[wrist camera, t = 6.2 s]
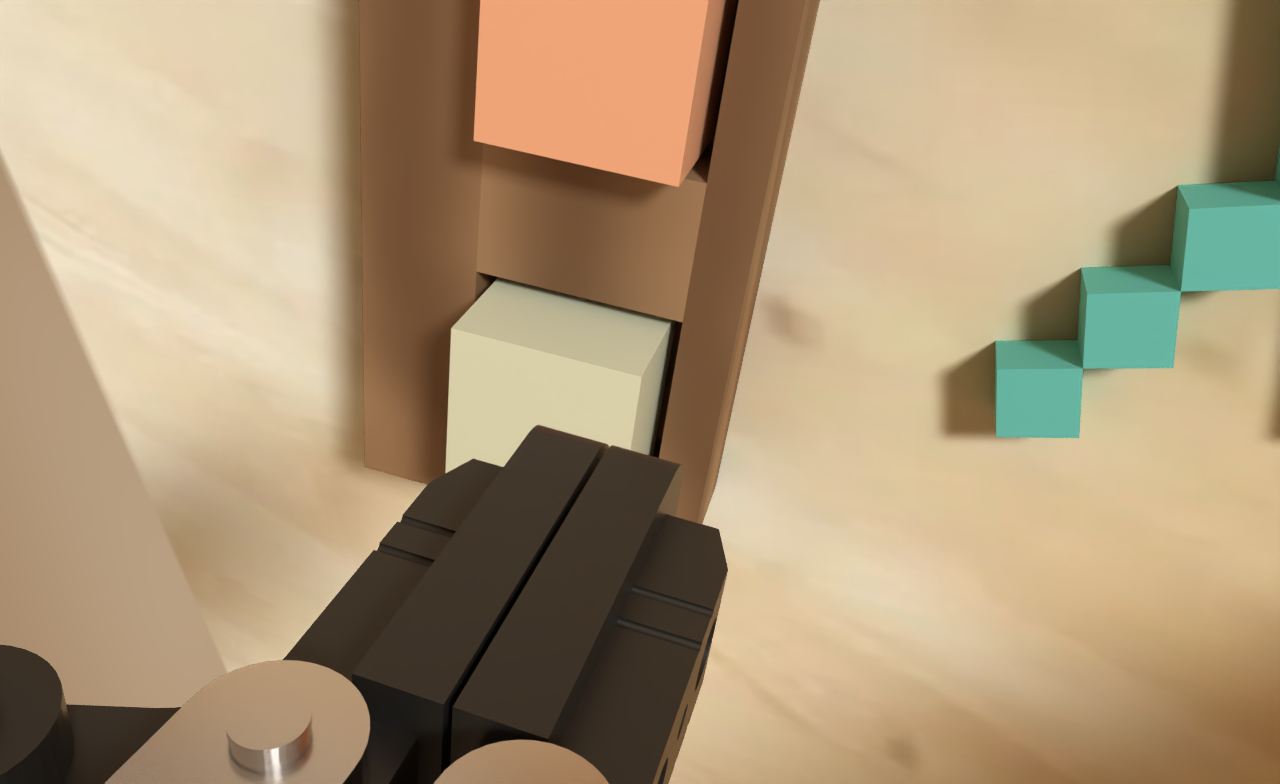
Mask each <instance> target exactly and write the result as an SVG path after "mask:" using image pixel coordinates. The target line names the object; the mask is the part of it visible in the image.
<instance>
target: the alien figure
mask: <svg viewBox="0 0 1280 784" xmlns="http://www.w3.org/2000/svg"><path fill="white" fill-rule="evenodd" d="M1257 289H1280V145H1279V153H1278V160H1277V167H1276V174H1275V180H1267V181H1249V182H1231V183H1213V184H1194V185H1178V187H1177V198H1176V208H1175V219H1174V229H1173V240H1172V250H1171V261H1170V265H1147V266H1118V267H1089V268H1081V282H1080V301H1079V320H1078V339H1077V340H1025V341H996V344H995V424H996V437H1033V438H1079V432H1080V414H1081V396H1082V378H1083V369H1110V368H1173V366H1174V356H1175V346H1176V336H1177V327H1178V317H1179V307H1180V297H1181V292H1184V291H1221V290H1257Z"/></svg>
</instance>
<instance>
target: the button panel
mask: <svg viewBox="0 0 1280 784" xmlns="http://www.w3.org/2000/svg"><path fill="white" fill-rule="evenodd" d="M819 2H820V0H737V2H736V8H735V14H734V19H733V25H732V31H731V37H730V42H729V48H728V54H727V60H726V65H725V71H724V77H723V83H722V88H721V94H720V100H719V106H718V111H717V117H716V123H715V129H714V134H713V139H712V140H711V141H710V143H709V144H708V146H707V147H706V149H705V150H704V151H703V153H702V154H701V156H700V157H699V159H698V160H697V161H696V163H695V164H694V166H693V167H692V169H691V170H690V171H689V173H688V174H687V176H686V177H685V179H684V180H683V182H682V183H681V184H680V186H679V187H676V186H672V185H667V184H663V183H658V182H654V181H650V180H645V179H641V178H636V177H632V176H628V175H623V174H619V173H614V172H610V171H605V170H601V169H597V168H592V167H588V166H583V165H579V164H574V163H570V162H566V161H561V160H557V159H552V158H548V157H543V156H539V155H535V154H530V153H526V152H521V151H517V150H512V149H508V148H504V147H499V146H495V145H490V144H486V143H482V142H477V141H474V122H475V101H476V80H477V59H478V38H479V17H480V0H359V39H360V121H361V203H362V286H363V368H364V450H365V467H367V468H371V469H374V470H378V471H381V472H385V473H388V474H392V475H395V476H399V477H402V478H406V479H410V480H413V481H417V482H420V483H424V484H427V485H428V484H429V483H430V482H431V481H432V480H434V479H436V478H438V477H440V476H442V475H444V474H445V471H446V446H447V421H448V395H449V370H450V345H451V328H452V327H453V326H454V325H455V324H456V322H457V321H458V320H459V319H460V318H461V317H462V316H463V315H464V314H465V313H466V312H467V311H468V310H469V309H470V307H471V306H472V305H473V304H474V303H475V302H476V301H477V300H478V299H479V298H480V297H481V296H482V295H483V293H484V292H485V291H486V290H487V289H488V288H489V287H490V286H491V285H492V284H493V283H494V282H495V281H496V279H497V278H498V277H500V278H504V279H509V280H513V281H517V282H521V283H525V284H529V285H533V286H537V287H541V288H545V289H549V290H553V291H557V292H561V293H565V294H569V295H573V296H578V297H582V298H586V299H590V300H594V301H598V302H602V303H606V304H610V305H614V306H618V307H622V308H626V309H630V310H634V311H638V312H642V313H647V314H651V315H655V316H659V317H663V318H667V319H671V320H675V321H676V325H675V331H674V336H673V342H672V348H671V354H670V360H669V366H668V371H667V377H666V383H665V389H664V395H663V401H662V407H661V412H660V418H659V424H658V430H657V436H656V442H655V448H654V453H653V457H657V458H660V459H664V460H667V461H671V462H675V463H678V464H682V465H683V480H682V486H681V491H680V497H679V502H678V508H677V513H676V517H678V518H682V519H685V520H689V521H692V522H695V523H699V524H702V523H703V520H704V517H705V514H706V512H707V509H708V506H709V503H710V500H711V497H712V495H713V492H714V489H715V486H716V482H717V477H718V473H719V468H720V463H721V459H722V454H723V449H724V445H725V440H726V435H727V431H728V426H729V421H730V417H731V412H732V407H733V403H734V398H735V393H736V389H737V384H738V379H739V375H740V370H741V365H742V361H743V356H744V351H745V347H746V342H747V337H748V333H749V328H750V323H751V319H752V314H753V309H754V305H755V300H756V296H757V291H758V286H759V282H760V277H761V272H762V268H763V263H764V258H765V254H766V249H767V244H768V240H769V235H770V230H771V226H772V221H773V216H774V212H775V207H776V202H777V198H778V193H779V188H780V184H781V179H782V174H783V170H784V165H785V160H786V156H787V151H788V146H789V142H790V137H791V132H792V128H793V123H794V118H795V114H796V109H797V104H798V100H799V95H800V90H801V86H802V81H803V76H804V72H805V67H806V63H807V58H808V53H809V49H810V44H811V39H812V35H813V30H814V25H815V21H816V16H817V11H818V7H819Z"/></svg>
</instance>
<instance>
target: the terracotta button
mask: <svg viewBox="0 0 1280 784" xmlns="http://www.w3.org/2000/svg"><path fill="white" fill-rule="evenodd" d="M736 2H737V0H480V17H479V38H478V59H477V80H476V101H475V122H474V141H477V142H482V143H486V144H490V145H495V146H499V147H504V148H508V149H512V150H517V151H521V152H526V153H530V154H535V155H539V156H543V157H548V158H552V159H557V160H561V161H566V162H570V163H574V164H579V165H583V166H588V167H592V168H597V169H601V170H605V171H610V172H614V173H619V174H623V175H628V176H632V177H636V178H641V179H645V180H650V181H654V182H658V183H663V184H667V185H672V186H676V187H679V186H680V184H681V183H682V182H683V180H684V179H685V177H686V176H687V174H688V173H689V171H690V170H691V169H692V167H693V166H694V164H695V163H696V161H697V160H698V159H699V157H700V156H701V154H702V153H703V151H704V150H705V149H706V147H707V146H708V144H709V143H710V141H711V140H712V139H713V134H714V129H715V123H716V117H717V111H718V106H719V100H720V94H721V88H722V83H723V77H724V71H725V65H726V60H727V54H728V48H729V42H730V37H731V31H732V25H733V19H734V14H735V8H736Z"/></svg>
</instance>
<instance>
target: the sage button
mask: <svg viewBox="0 0 1280 784" xmlns="http://www.w3.org/2000/svg"><path fill="white" fill-rule="evenodd" d="M675 325H676V321H675V320H671V319H667V318H663V317H659V316H655V315H651V314H647V313H642V312H638V311H634V310H630V309H626V308H622V307H618V306H614V305H610V304H606V303H602V302H598V301H594V300H590V299H586V298H582V297H578V296H573V295H569V294H565V293H561V292H557V291H553V290H549V289H545V288H541V287H537V286H533V285H529V284H525V283H521V282H517V281H513V280H509V279H504V278H500V277H498V278H497V279H496V281H495V282H494V283H493V284H492V285H491V286H490V287H489V288H488V289H487V290H486V291H485V292H484V293H483V295H482V296H481V297H480V298H479V299H478V300H477V301H476V302H475V303H474V304H473V305H472V306H471V307H470V309H469V310H468V311H467V312H466V313H465V314H464V315H463V316H462V317H461V318H460V319H459V320H458V321H457V322H456V324H455V325H454V326H453V327H452V328H451V345H450V370H449V395H448V421H447V446H446V471H445V473H447V472H449V471H451V470H453V469H455V468H457V467H458V466H460V465H462V464H464V463H466V462H468V461H470V460H471V459H477V460H480V461H484V462H487V463H491V464H494V465H498V466H501V467H504V466H505V464H506V463H507V462H508V460H509V459H510V458H511V456H512V455H513V454H514V452H515V451H516V449H517V448H518V447H519V445H520V444H521V443H522V441H523V440H524V439H525V437H526V436H527V435H528V433H529V432H530V431H531V430H532V428H534V427H535V426H536V425H541V426H545V427H548V428H552V429H556V430H559V431H563V432H566V433H570V434H573V435H577V436H581V437H584V438H588V439H591V440H595V441H598V442H602V443H606V444H608V445H609V447H610V446H612V445H614V446H617V447H621V448H625V449H628V450H632V451H635V452H639V453H642V454H646V455H650V456H653V453H654V448H655V442H656V436H657V430H658V424H659V418H660V412H661V407H662V401H663V395H664V389H665V383H666V377H667V371H668V366H669V360H670V354H671V348H672V342H673V336H674V331H675Z"/></svg>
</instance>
